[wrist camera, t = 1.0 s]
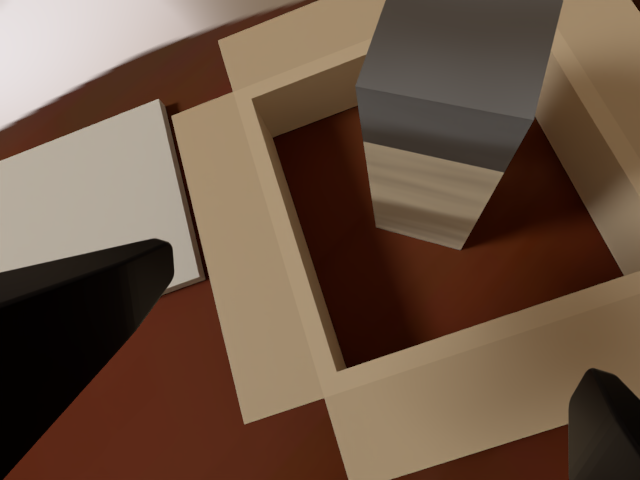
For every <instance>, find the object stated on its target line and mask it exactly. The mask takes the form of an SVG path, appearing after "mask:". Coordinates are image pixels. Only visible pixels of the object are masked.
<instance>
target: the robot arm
mask: <svg viewBox="0 0 640 480" xmlns="http://www.w3.org/2000/svg"><path fill="white" fill-rule="evenodd" d="M173 277H174V258H173V247H172V245H171V244H170V243H169V242H167V241H164V240H160V239H157V238H152V239H147V240H143V241H139V242H134V243H130V244H125V245H121V246H116V247H112V248H107V249H103V250H98V251H94V252H89V253H85V254H80V255H76V256H71V257H67V258H63V259H58V260H54V261H49V262H45V263H40V264H36V265H31V266H27V267H22V268H18V269H13V270H9V271H4V272H0V480H3V479H4V478H5V477H6V476H7V474H8V473H9V472H10V471H11V470H12V469H13V468H14V467H15V465H16V464H17V463H18V462H19V461H20V460H21V459H22V458H23V457H24V455H25V454H26V453H27V452H28V451H29V450H30V449H31V448H32V446H33V445H34V444H35V443H36V442H37V441H38V440H39V439H40V438H41V436H42V435H43V434H44V433H45V432H46V431H47V430H48V429H49V427H50V426H51V425H52V424H53V423H54V422H55V421H56V420H57V418H58V417H59V416H60V415H61V414H62V413H63V412H64V411H65V410H66V408H67V407H68V406H69V405H70V404H71V403H72V402H73V401H74V399H75V398H76V397H77V396H78V395H79V394H80V393H81V392H82V391H83V389H84V388H85V387H86V386H87V385H88V384H89V383H90V382H91V380H92V379H93V378H94V377H95V376H96V375H97V374H98V373H99V371H100V370H101V369H102V368H103V367H104V366H105V365H106V364H107V363H108V361H109V360H110V359H111V358H112V357H113V356H114V355H115V354H116V352H117V351H118V350H119V349H120V348H121V347H122V346H123V345H124V343H125V342H126V341H127V340H128V339H129V338H130V337H131V336H132V334H133V333H134V332H135V331H136V330H137V328H138V327H139V326H140V324H141V323H142V322H143V320H144V319H145V318H146V316H147V315H148V313H149V312H150V311H151V309H152V308H153V307H154V305H155V304H156V302H157V301H158V300H159V298H160V297H161V295H162V294H163V293H164V291H165V290H166V289H167V287H168V286H169V284H170V283H171V281H172V279H173ZM568 430H569V480H640V399H639V398H638V397H637V396H636V395H635V394H634V393H633V392H632V391H631V390H630V389H629V388H628V387H627V386H626V385H625V384H624V383H623V382H622V380H621V379H620V378H619V377H617V376H616V375H615V374H613V373H610V372H606V371H603V370H599V369H596V368H590V369H588V370H587V371H586V372H585V374H584V376H583V377H582V379H581V381H580V382H579V384H578V386H577V388H576V389H575V391H574V393H573V394H572V396H571V399H570V402H569V407H568Z"/></svg>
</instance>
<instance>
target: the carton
mask: <svg viewBox="0 0 640 480" xmlns="http://www.w3.org/2000/svg"><path fill="white" fill-rule="evenodd" d="M385 1H386V0H319V1H316V2H314V3H311V4H309V5H306V6H304V7H301V8H299V9H296V10H294V11H291V12H289V13H286V14H284V15H281V16H279V17H276V18H274V19H271V20H269V21H266V22H264V23H261V24H259V25H256V26H254V27H251V28H248V29H246V30H243V31H241V32H238V33H236V34H233V35H231V36H228V37H226V38H223V39H221V40H218V43H219V46H220V50H221V53H222V56H223V60H224V63H225V66H226V70H227V73H228V76H229V80H230V83H231V87H232V90H233V92H232V93H229V94H227V95H224V96H221V97H219V98H216V99H214V100H211V101H209V102H206V103H203V104H201V105H198V106H196V107H193V108H191V109H188V110H185V111H183V112H180V113H178V114H175V115H173V116H171V117H172V121H173V126H174V130H175V134H176V138H177V143H178V147H179V151H180V155H181V159H182V164H183V168H184V172H185V176H186V181H187V185H188V189H189V193H190V197H191V202H192V206H193V210H194V214H195V219H196V223H197V227H198V231H199V235H200V240H201V244H202V248H203V252H204V257H205V261H206V265H207V269H208V273H209V278H210V282H211V286H212V290H213V295H214V299H215V303H216V307H217V311H218V316H219V320H220V324H221V328H222V333H223V337H224V341H225V345H226V350H227V354H228V358H229V362H230V366H231V371H232V375H233V379H234V383H235V388H236V392H237V396H238V400H239V404H240V409H241V413H242V417H243V421H244V424H247V423H250V422H253V421H256V420H259V419H262V418H265V417H268V416H271V415H274V414H277V413H280V412H283V411H286V410H289V409H292V408H295V407H298V406H301V405H304V404H307V403H310V402H313V401H316V400H320V399H323V398H324V399H325V402H326V405H327V409H328V412H329V415H330V419H331V422H332V425H333V429H334V432H335V436H336V439H337V442H338V446H339V449H340V452H341V456H342V459H343V462H344V466H345V469H346V472H347V476H348V479H349V480H390V479H393V478H397V477H400V476H403V475H406V474H409V473H413V472H416V471H419V470H422V469H425V468H429V467H432V466H435V465H438V464H441V463H444V462H448V461H451V460H454V459H457V458H460V457H464V456H467V455H470V454H473V453H476V452H480V451H483V450H486V449H489V448H492V447H496V446H499V445H502V444H505V443H508V442H512V441H515V440H518V439H521V438H524V437H527V436H531V435H534V434H537V433H540V432H543V431H547V430H550V429H553V428H556V427H559V426H563V425H566V424H568V407H569V402H570V399H571V396H572V394H573V393H574V391H575V389H576V388H577V386H578V384H579V382H580V381H581V379H582V377H583V376H584V374H585V372H586V371H587V370H588V369H590V368H596V369H599V370H603V371H606V372H610V373H613V374H615V375H616V376H617V377H619V378H620V379H621V380H622V382H623V383H624V384H625V385H626V386H627V387H628V388H629V389H630V390H631V391H632V392H633V393H634V394H635V395H636V396H637V397H638V398H639V399H640V12H639V10H638V9H637V8H636V6H635V5H634V3H633V2H632V1H631V0H563V4H562V8H561V12H560V16H559V20H558V24H557V28H556V32H555V36H554V40H553V44H552V48H551V52H550V56H549V60H548V64H547V68H546V72H545V76H544V80H543V85H542V89H541V93H540V97H539V101H538V105H537V109H536V113H535V117H536V119H537V121H538V123H539V124H540V126H541V128H542V130H543V132H544V133H545V135H546V137H547V139H548V140H549V142H550V144H551V146H552V148H553V149H554V151H555V153H556V155H557V157H558V158H559V160H560V162H561V164H562V166H563V167H564V169H565V171H566V173H567V174H568V176H569V178H570V180H571V182H572V183H573V185H574V187H575V189H576V191H577V192H578V194H579V196H580V198H581V199H582V201H583V203H584V205H585V207H586V208H587V210H588V212H589V214H590V216H591V217H592V219H593V221H594V223H595V225H596V226H597V228H598V230H599V232H600V233H601V235H602V237H603V239H604V241H605V242H606V244H607V246H608V248H609V250H610V251H611V253H612V255H613V257H614V258H615V260H616V262H617V264H618V266H619V267H620V269H621V271H622V273H623V275H624V276H623V277H620V278H617V279H614V280H611V281H608V282H605V283H602V284H599V285H596V286H593V287H590V288H587V289H584V290H581V291H578V292H575V293H572V294H569V295H566V296H563V297H560V298H557V299H554V300H551V301H548V302H545V303H542V304H539V305H536V306H533V307H530V308H527V309H524V310H521V311H518V312H515V313H512V314H509V315H506V316H503V317H500V318H497V319H494V320H491V321H488V322H485V323H482V324H479V325H476V326H473V327H470V328H467V329H464V330H461V331H458V332H455V333H452V334H449V335H446V336H443V337H440V338H437V339H434V340H431V341H428V342H425V343H422V344H419V345H416V346H413V347H410V348H407V349H404V350H401V351H398V352H395V353H392V354H389V355H386V356H383V357H380V358H377V359H374V360H371V361H368V362H365V363H362V364H359V365H356V366H353V367H350V368H346V365H345V362H344V359H343V356H342V353H341V350H340V347H339V343H338V340H337V337H336V334H335V331H334V328H333V325H332V322H331V319H330V315H329V312H328V309H327V306H326V303H325V300H324V297H323V294H322V290H321V287H320V284H319V281H318V278H317V275H316V272H315V269H314V265H313V262H312V259H311V256H310V253H309V250H308V247H307V244H306V240H305V237H304V234H303V231H302V228H301V225H300V222H299V219H298V216H297V212H296V209H295V206H294V203H293V200H292V197H291V194H290V191H289V187H288V184H287V181H286V178H285V175H284V172H283V169H282V166H281V162H280V159H279V156H278V153H277V150H276V147H275V144H274V141H273V137H276V136H278V135H281V134H284V133H286V132H289V131H291V130H294V129H297V128H299V127H302V126H305V125H307V124H310V123H313V122H315V121H318V120H321V119H323V118H326V117H328V116H331V115H334V114H336V113H339V112H342V111H344V110H347V109H350V108H352V107H355V106H358V102H357V95H356V88H355V85H356V83H357V80H358V77H359V74H360V71H361V68H362V66H363V63H364V60H365V57H366V54H367V52H368V49H369V46H370V43H371V40H372V37H373V35H374V32H375V29H376V26H377V23H378V20H379V18H380V15H381V12H382V9H383V6H384V4H385Z"/></svg>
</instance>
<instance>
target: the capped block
mask: <svg viewBox="0 0 640 480" xmlns="http://www.w3.org/2000/svg"><path fill="white" fill-rule="evenodd" d="M562 4H563V0H386V1H385V4H384V6H383V9H382V12H381V15H380V18H379V20H378V23H377V26H376V29H375V32H374V35H373V37H372V40H371V43H370V46H369V49H368V52H367V54H366V57H365V60H364V63H363V66H362V68H361V71H360V74H359V77H358V80H357V83H356V85H355V88H356V95H357V102H358V109H359V115H360V122H361V129H362V136H363V142H364V149H365V156H366V163H367V169H368V176H369V183H370V190H371V197H372V203H373V210H374V217H375V224H376V228H380V229H384V230H387V231H391V232H395V233H398V234H402V235H406V236H410V237H413V238H417V239H421V240H424V241H428V242H432V243H436V244H439V245H443V246H447V247H450V248H454V249H458V250H461V248H462V247H463V245H464V243H465V241H466V240H467V238H468V236H469V234H470V232H471V231H472V229H473V227H474V225H475V224H476V222H477V220H478V218H479V216H480V215H481V213H482V211H483V209H484V208H485V206H486V204H487V202H488V200H489V199H490V197H491V195H492V193H493V192H494V190H495V188H496V186H497V184H498V183H499V181H500V179H501V177H502V176H503V174H504V172H505V170H506V168H507V167H508V165H509V163H510V161H511V160H512V158H513V156H514V154H515V152H516V151H517V149H518V147H519V145H520V144H521V142H522V140H523V138H524V136H525V135H526V133H527V131H528V129H529V128H530V126H531V124H532V122H533V120H534V117H535V113H536V109H537V105H538V101H539V97H540V93H541V89H542V85H543V80H544V76H545V72H546V68H547V64H548V60H549V56H550V52H551V48H552V44H553V40H554V36H555V32H556V28H557V24H558V20H559V16H560V12H561V8H562Z"/></svg>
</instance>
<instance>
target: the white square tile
mask: <svg viewBox="0 0 640 480" xmlns="http://www.w3.org/2000/svg"><path fill="white" fill-rule="evenodd" d="M152 238H157V239H160V240H164V241H167V242H169V243H170V244H171V245H172V247H173V258H174V277H173V279H172V281H171V283H170V284H169V286H168V287H167V289H166V290H165V291H164V293H163V294H162V295H164V294H167V293H169V292H172V291H175V290H178V289H181V288H183V287H186V286H189V285H192V284H194V283H197V282H200V281H203V280H206V279H205V275H204V271H203V266H202V262H201V258H200V254H199V249H198V245H197V241H196V236H195V232H194V228H193V224H192V219H191V215H190V211H189V206H188V202H187V198H186V194H185V189H184V185H183V181H182V176H181V172H180V168H179V164H178V159H177V155H176V151H175V146H174V142H173V138H172V134H171V129H170V125H169V121H168V116H167V112H166V108H165V105H164V104H163V103H162V102H161V101H160V100H159V99H157V100H155V101H152V102H150V103H147V104H145V105H142V106H139V107H137V108H134V109H132V110H129V111H127V112H124V113H122V114H119V115H116V116H114V117H111V118H109V119H106V120H104V121H101V122H99V123H96V124H94V125H91V126H88V127H86V128H83V129H81V130H78V131H76V132H73V133H71V134H68V135H66V136H63V137H60V138H58V139H55V140H53V141H50V142H48V143H45V144H43V145H40V146H37V147H35V148H32V149H30V150H27V151H25V152H22V153H20V154H17V155H15V156H12V157H9V158H7V159H4V160H2V161H0V272H4V271H9V270H13V269H18V268H22V267H27V266H31V265H36V264H40V263H45V262H49V261H54V260H58V259H63V258H67V257H71V256H76V255H80V254H85V253H89V252H94V251H98V250H103V249H107V248H112V247H116V246H121V245H125V244H130V243H134V242H139V241H143V240H147V239H152Z"/></svg>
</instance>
